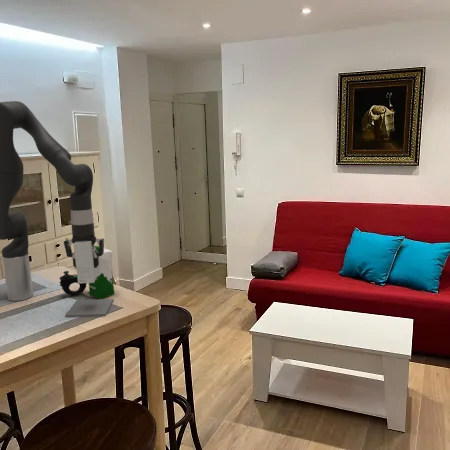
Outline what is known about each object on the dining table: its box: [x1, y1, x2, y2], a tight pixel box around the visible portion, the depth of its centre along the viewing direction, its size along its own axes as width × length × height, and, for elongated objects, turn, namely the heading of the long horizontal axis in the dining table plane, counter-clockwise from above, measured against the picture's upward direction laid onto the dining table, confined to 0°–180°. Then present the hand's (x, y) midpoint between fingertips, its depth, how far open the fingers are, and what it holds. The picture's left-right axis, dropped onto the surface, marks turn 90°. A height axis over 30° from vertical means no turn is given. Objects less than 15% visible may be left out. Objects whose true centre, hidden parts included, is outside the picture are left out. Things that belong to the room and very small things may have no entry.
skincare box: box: [73, 241, 98, 285], centre depth 162 cm, size 8×6×15 cm
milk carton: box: [88, 245, 115, 299], centre depth 178 cm, size 9×9×20 cm
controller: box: [59, 270, 88, 297], centre depth 180 cm, size 4×12×10 cm, turn 113°
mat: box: [64, 298, 115, 318], centre depth 166 cm, size 14×14×1 cm
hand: (86, 267), depth 163 cm, fingers closed on skincare box, 6 cm apart
